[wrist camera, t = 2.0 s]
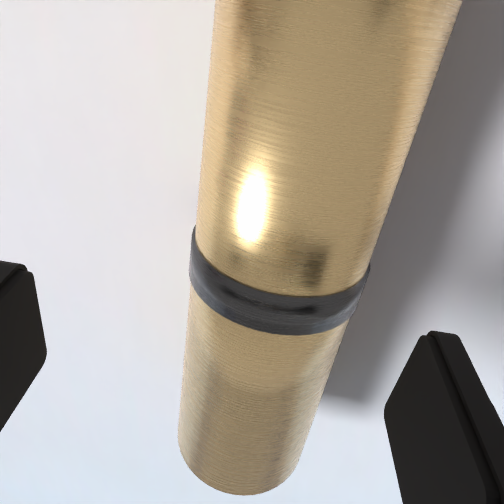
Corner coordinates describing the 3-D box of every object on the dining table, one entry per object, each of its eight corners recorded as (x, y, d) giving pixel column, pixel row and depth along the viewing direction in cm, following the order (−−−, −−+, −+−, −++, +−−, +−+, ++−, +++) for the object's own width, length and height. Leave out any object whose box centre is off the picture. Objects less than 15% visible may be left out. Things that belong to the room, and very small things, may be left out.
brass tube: (221, -102, 12) (222, -172, 7) (424, -61, 13) (568, -94, 7) (181, 377, 22) (168, 496, 17) (293, 383, 23) (314, 498, 18)
